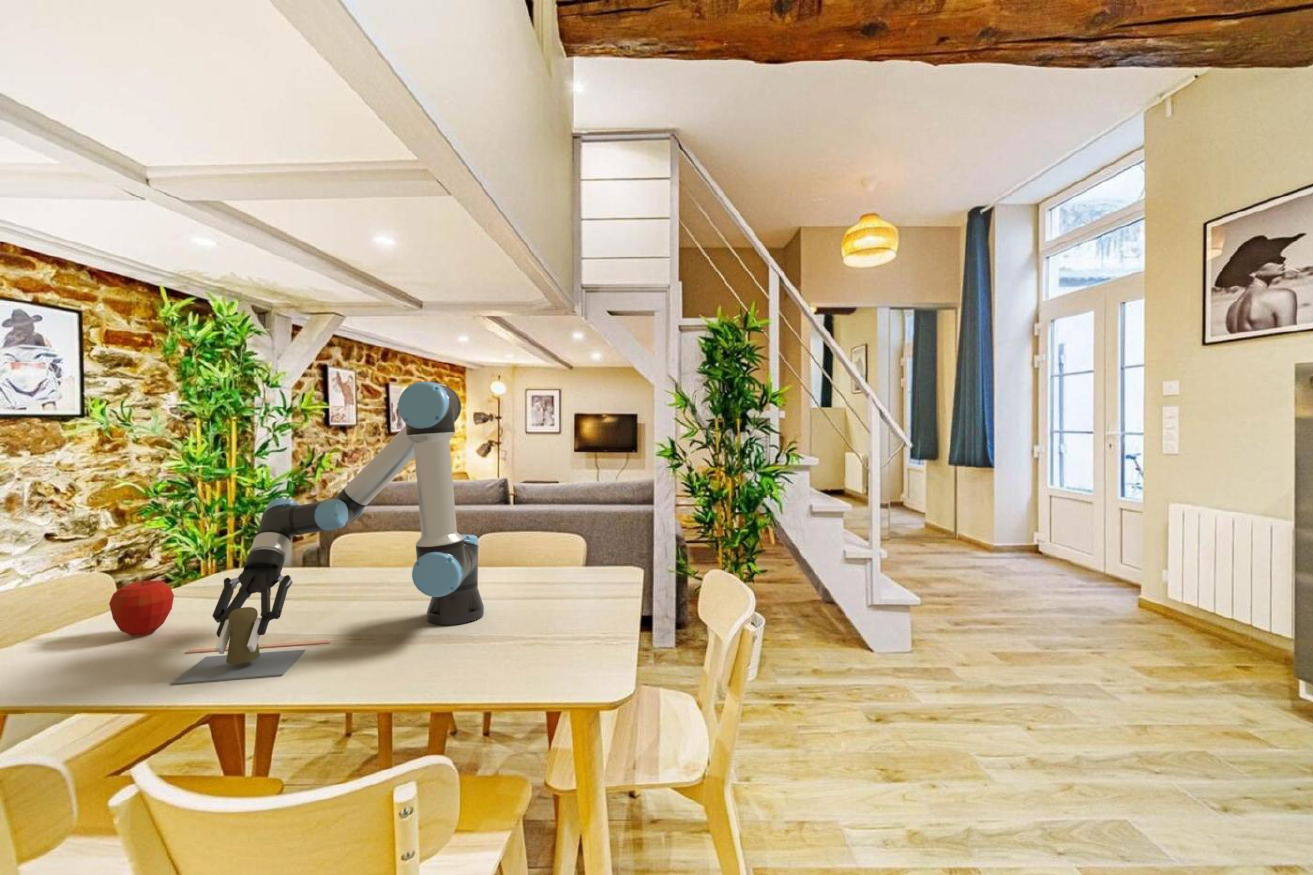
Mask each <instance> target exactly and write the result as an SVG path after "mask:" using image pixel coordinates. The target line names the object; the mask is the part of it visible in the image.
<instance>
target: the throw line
mask: <svg viewBox="0 0 1313 875" xmlns="http://www.w3.org/2000/svg"><path fill="white" fill-rule="evenodd" d="M331 642H332V639H326V640H312V641H311V640H309V641H297V642H294V641H293V642H284V643H282V642H281V643H268V644H267V643H266V644H258V646H259V649H268V648H269V649H270V648H281V647H295V646H296V647H297V646H310V645H325V644H326V645H329V644H330V643H331ZM228 647H229V646H228ZM228 647H227V646H226V649H225V652H228ZM215 648H216V647H211V648H210V647H209V648H194V649H188V650H186V651H185V652H184V654H186V653H187V654H200V653H212V652H213V651H215V652H218V651H217V650H216V649H215ZM213 653H214V652H213Z"/></svg>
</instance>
